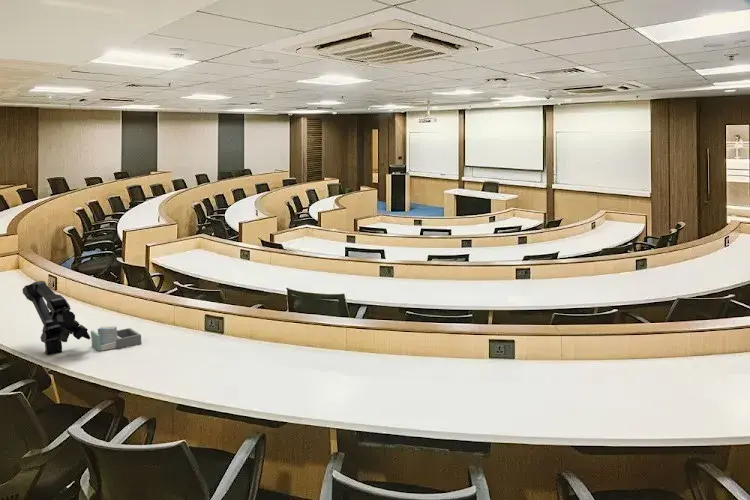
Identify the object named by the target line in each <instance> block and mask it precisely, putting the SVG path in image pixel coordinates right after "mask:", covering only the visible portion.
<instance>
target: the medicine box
mask: <svg viewBox="0 0 750 500" xmlns="http://www.w3.org/2000/svg"><path fill="white" fill-rule="evenodd" d="M117 330H118V329H117V326H116V325H115V326H113V325H111V326H109V325H108V326H100V327H99V328H98V329H97V333H98V334H99V335H100V343H101V345H105V344H110V343H115V342H116V339H118V338H117Z"/></svg>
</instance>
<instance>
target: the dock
mask: <svg viewBox="0 0 750 500" xmlns="http://www.w3.org/2000/svg"><path fill="white" fill-rule="evenodd" d="M117 336H119V337H120V338H119V339H116V346H117V348H115V349H116V350H121V349H125V348H130V347H135V346H138V345H142V335H141V334H140V333H139V332H137V331H136V330H134V329H133V328H131V327H128V328H123V329H119V330H118V329H117Z"/></svg>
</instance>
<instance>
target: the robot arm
mask: <svg viewBox="0 0 750 500" xmlns="http://www.w3.org/2000/svg"><path fill="white" fill-rule="evenodd" d="M22 293H23V295H24V297H25V298H26V300H28V301H30V302H31V303H32V304H33V305H34V308H35V310H36V312H37V315H38V316H39V318H40V320H41V323H42V325H43V327H42V330H41V332H42V333H41V336H40V341H41V342H42V343H44V349H45V350H44V353H45V354H46V355H47V356H48V355H53V354H54V355H55V354H59V353H62V352H63V343H68V339H69V337H70V335H72V336H73V337H74V338H75V339H77V340H78V341H79V340H81V339H82V338H85V339H87V340H91V335H90V334H89V332H88V328H87V327H85V326H84V325H82V324H80V322H79V321H77V320H76V314H75V313H74V312H73V311H71V305H70V304H69V302H68V301H67V299H66V298H65V297H63V296H62V295H61V294H56V293H55V291H53V290H52V289H51V288H50V287H49V286H48V285H47V283H46V281H44V280H40V281H33V282H32V283H30V284H27V285H24V287H23V288H22Z"/></svg>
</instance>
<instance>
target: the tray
mask: <svg viewBox="0 0 750 500" xmlns="http://www.w3.org/2000/svg"><path fill="white" fill-rule="evenodd" d="M117 338H118V339H119V338H120V337H119V336H117ZM90 340H91V346H92V347H93V348H94V349H95V350H96V351H97V352H101V351H107V350H111V349H116V348H117V346H116V342H115V343H110V344H105V345H101V343H100V335H99V334H98V332H96V331H95V330H94V329H93V330H90Z"/></svg>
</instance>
